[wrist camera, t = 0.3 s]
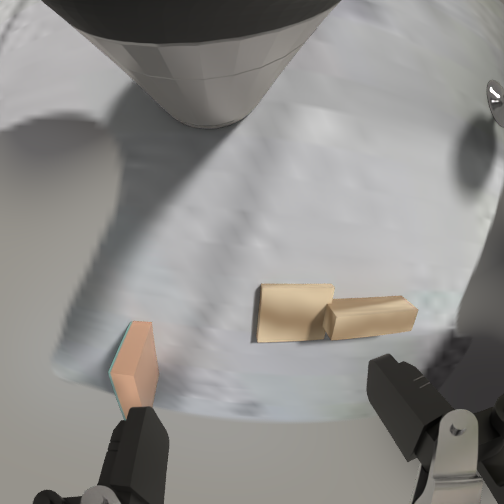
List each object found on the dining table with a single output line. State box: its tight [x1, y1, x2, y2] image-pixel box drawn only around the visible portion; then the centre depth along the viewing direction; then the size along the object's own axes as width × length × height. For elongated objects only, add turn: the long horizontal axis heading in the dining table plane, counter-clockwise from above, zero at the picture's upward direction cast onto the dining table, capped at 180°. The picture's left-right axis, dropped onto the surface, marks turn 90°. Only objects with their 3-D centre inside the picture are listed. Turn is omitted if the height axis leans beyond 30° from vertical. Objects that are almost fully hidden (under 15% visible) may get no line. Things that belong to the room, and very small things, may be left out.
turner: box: [256, 284, 418, 342], centre depth 26 cm, size 6×16×4 cm, turn 86°
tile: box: [108, 321, 159, 420], centre depth 23 cm, size 7×2×8 cm, turn 176°
